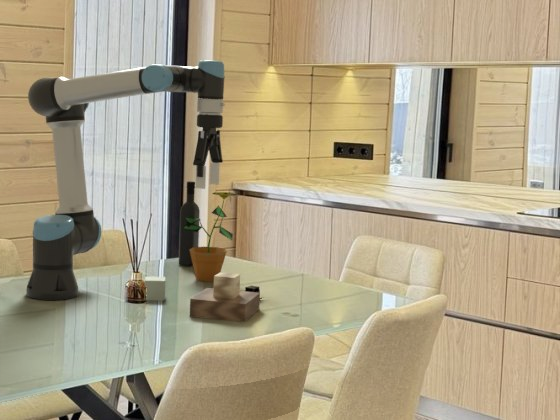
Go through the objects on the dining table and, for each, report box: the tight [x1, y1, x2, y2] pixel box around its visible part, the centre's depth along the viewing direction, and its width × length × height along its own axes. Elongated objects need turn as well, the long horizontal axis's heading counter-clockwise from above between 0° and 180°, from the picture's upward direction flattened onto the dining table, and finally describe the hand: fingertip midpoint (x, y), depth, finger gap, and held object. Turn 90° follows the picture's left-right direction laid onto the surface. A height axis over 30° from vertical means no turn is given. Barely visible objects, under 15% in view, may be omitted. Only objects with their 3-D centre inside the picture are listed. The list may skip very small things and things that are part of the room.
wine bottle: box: [178, 180, 201, 267], centre depth 343 cm, size 6×6×30 cm
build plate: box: [244, 285, 263, 299], centre depth 293 cm, size 12×7×5 cm, turn 150°
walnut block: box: [189, 287, 261, 322], centre depth 274 cm, size 16×16×5 cm
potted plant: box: [183, 191, 237, 282], centre depth 319 cm, size 18×19×30 cm
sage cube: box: [144, 276, 166, 301], centre depth 289 cm, size 6×6×6 cm
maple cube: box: [213, 271, 241, 299], centre depth 273 cm, size 6×6×6 cm
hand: (207, 186), depth 283 cm, fingers open, 13 cm apart
